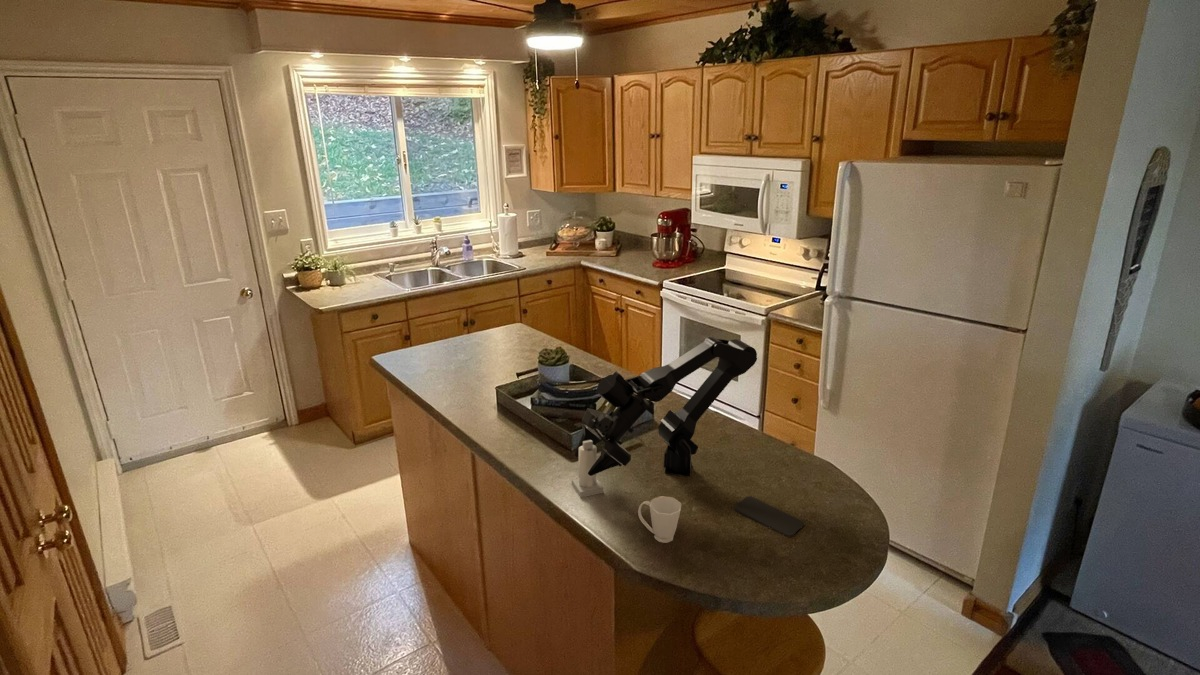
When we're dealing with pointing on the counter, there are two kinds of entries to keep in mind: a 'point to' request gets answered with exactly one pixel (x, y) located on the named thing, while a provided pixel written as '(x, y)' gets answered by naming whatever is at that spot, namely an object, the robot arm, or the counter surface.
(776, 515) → the phone
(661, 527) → the cup
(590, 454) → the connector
